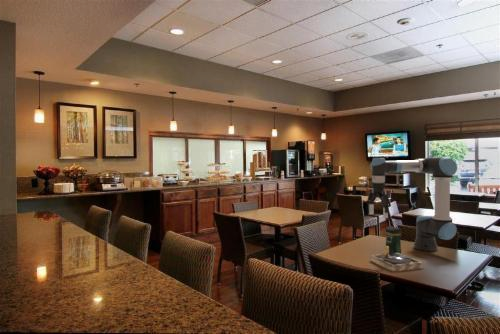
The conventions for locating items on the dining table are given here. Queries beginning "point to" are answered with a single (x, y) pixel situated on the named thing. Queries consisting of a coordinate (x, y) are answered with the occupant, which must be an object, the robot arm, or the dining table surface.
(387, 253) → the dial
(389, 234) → the coffee jar
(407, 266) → the square tray
